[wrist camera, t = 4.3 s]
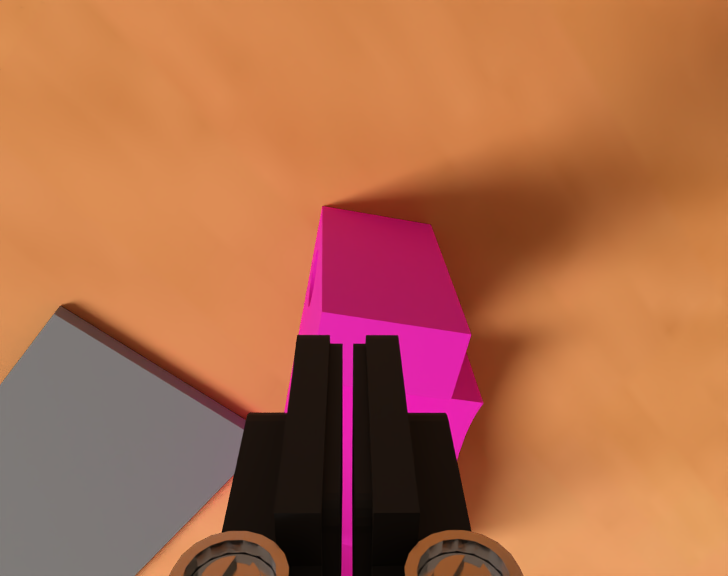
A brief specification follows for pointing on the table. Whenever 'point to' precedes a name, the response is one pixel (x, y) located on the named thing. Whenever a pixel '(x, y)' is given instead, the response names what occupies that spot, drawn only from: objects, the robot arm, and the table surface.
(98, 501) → the felt pad
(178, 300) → the table surface
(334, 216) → the toy block
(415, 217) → the table surface
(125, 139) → the table surface
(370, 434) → the robot arm
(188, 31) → the table surface
